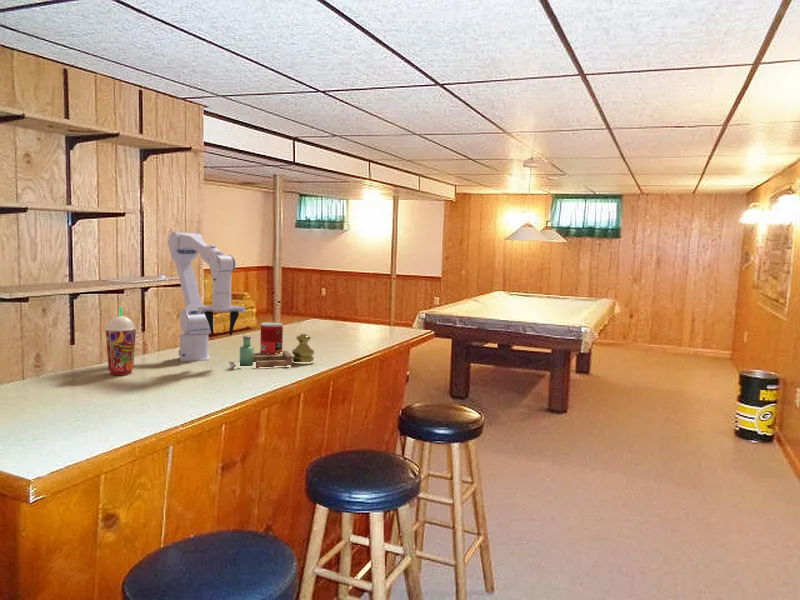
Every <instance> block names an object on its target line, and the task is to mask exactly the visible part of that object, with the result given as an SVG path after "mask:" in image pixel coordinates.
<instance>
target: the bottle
mask: <svg viewBox="0 0 800 600" xmlns="http://www.w3.org/2000/svg"><path fill="white" fill-rule="evenodd" d="M251 338H252V336H251V335H242V340H243V342H242V343H243V344H242V345H241V346H239V362H240V366H252V365H253V358H254V356H255V355H254V349H255V346H252V345H251Z"/></svg>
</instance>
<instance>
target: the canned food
mask: <svg viewBox="0 0 800 600" xmlns="http://www.w3.org/2000/svg"><path fill="white" fill-rule="evenodd" d="M283 333H284V325H283V323H281V322H274V321H273V322H272V321H271V322H270V321H269V322H268V321H267V322H262V323H260V347H259V348H260V350H259V351H260V354H262V353H269V354H268V355H270V354H273V355H276V354H275V353H280V352H282V353H283V342H284V341H283V337H284V335H283Z"/></svg>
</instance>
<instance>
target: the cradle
mask: <svg viewBox="0 0 800 600" xmlns="http://www.w3.org/2000/svg"><path fill="white" fill-rule="evenodd" d="M234 362H235V361H228V363H229V365H230V369H231V370H232V369H234V367H235V366H236V365H235V364H234ZM253 362H256V368H259V367H274V366H287V365H292V366H293V363H292V354H291V353H290V352H289V351H288V350H282V354H281V355H280V354H273V355H254V358H253Z"/></svg>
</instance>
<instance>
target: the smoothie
mask: <svg viewBox="0 0 800 600" xmlns="http://www.w3.org/2000/svg"><path fill="white" fill-rule="evenodd" d="M104 329H105V342H106V353H107V354H106V355H107V356H106V357H107V368H108V371H109V374H110V375H113V376H126V375H130V374H132V372H133V371H132V370H133V369H134V366H135V365H134V364H135V350H136V334H137V333H136V332H137V327H136V326H135V324H134V322H133V320H132V319H131V318H130V317H128V316H125V315H123V306H119V315H118V316H115V317H113V318H111V319H110V321H108V323H107V326H106V327H105V328H104Z"/></svg>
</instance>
